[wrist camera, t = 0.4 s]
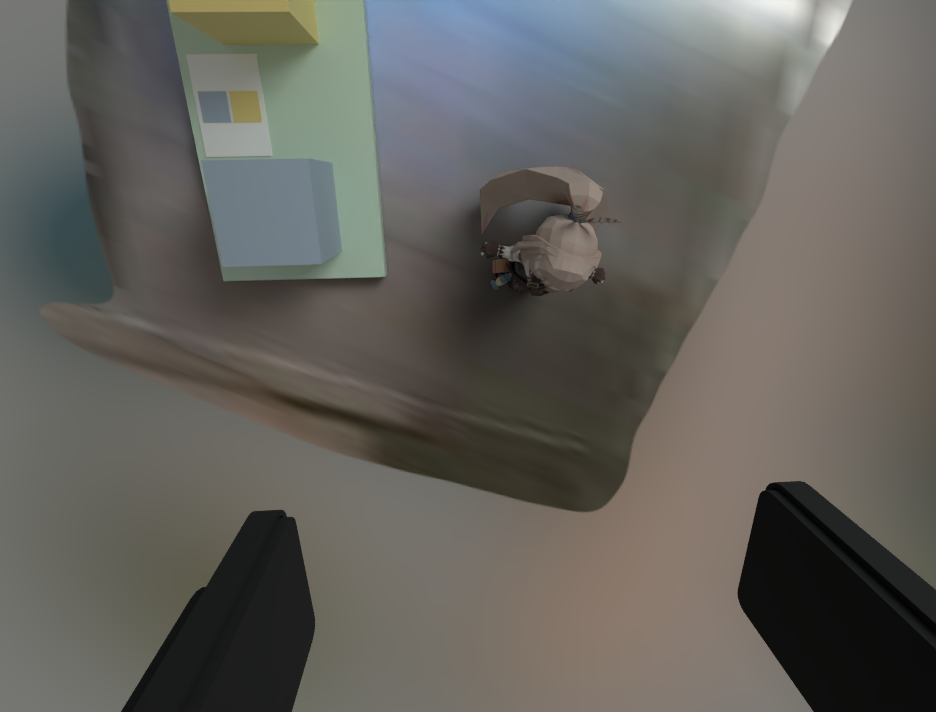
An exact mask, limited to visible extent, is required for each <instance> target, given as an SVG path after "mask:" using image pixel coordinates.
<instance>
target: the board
mask: <svg viewBox="0 0 936 712" xmlns="http://www.w3.org/2000/svg"><path fill="white" fill-rule="evenodd" d="M166 4H167V8H168V13H169V18H170V23H171V28H172V33H173V38H174V43H175V47H176V52H177V57H178V62H179V67H180V72H181V77H182V82H183V86H184V91H185V96H186V101H187V106H188V111H189V116H190V121H191V125H192V130H193V135H194V140H195V145H196V150H197V155H198V160H199V164H200V169H201V174H202V179H203V184H204V189H205V194H206V199H207V203H208V208H209V213H210V218H211V223H212V228H213V233H214V238H215V242H216V247H217V252H218V257H219V262H220V267H221V272H222V277H223V281H251V280H288V279H325V278H361V277H386V275H387V266H386V253H385V241H384V228H383V215H382V203H381V190H380V178H379V165H378V153H377V140H376V128H375V115H374V103H373V90H372V78H371V65H370V53H369V40H368V28H367V15H366V3H365V0H314V4H315V13H316V22H317V31H318V40H319V44H284V45H223V44H221V43H219V42H218V41H216V40H215V39H213V38H211V37H210V36H208V35H206V34H205V33H203V32H202V31H200V30H198V29H197V28H195V27H194V26H192V25H190V24H189V23H187V22H186V21H184V20H182V19H181V18H179V17H178V16H176V15H174V14H173V13H171V10H170V6H169V1H168V0H166ZM304 158H309V159H314V160H320V161H325V162H331V163H332V165H333V173H334V182H335V191H336V200H337V209H338V218H339V227H340V236H341V245H342V251H341V252H340V253H338V254H337V255H335V256H334V257H332V258H331V259H329V260H328V261H326V262H324V263H323V264H311V265H273V266H234V267H223V266H222V261H221V256H220V251H219V246H218V241H217V237H216V232H215V227H214V222H213V217H212V212H211V207H210V202H209V197H208V192H207V187H206V182H205V178H204V173H203V168H202V163H201V160H248V159H304Z"/></svg>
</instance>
